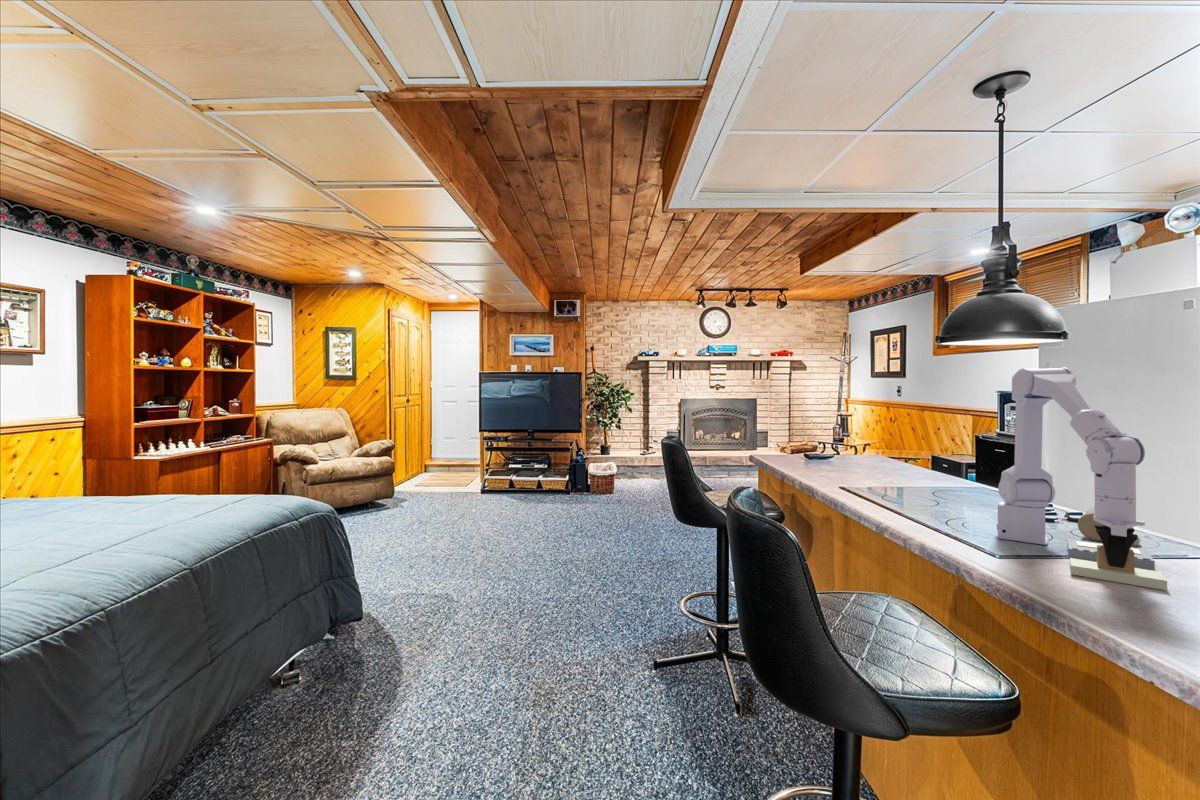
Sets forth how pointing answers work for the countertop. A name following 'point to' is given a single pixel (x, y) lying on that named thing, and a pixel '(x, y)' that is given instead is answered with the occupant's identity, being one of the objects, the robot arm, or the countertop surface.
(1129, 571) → the stub
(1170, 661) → the countertop surface
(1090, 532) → the ceramic mug
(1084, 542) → the board
